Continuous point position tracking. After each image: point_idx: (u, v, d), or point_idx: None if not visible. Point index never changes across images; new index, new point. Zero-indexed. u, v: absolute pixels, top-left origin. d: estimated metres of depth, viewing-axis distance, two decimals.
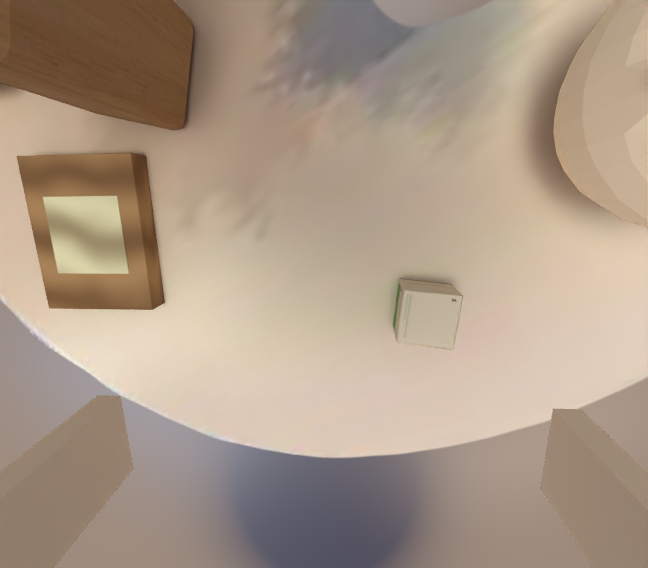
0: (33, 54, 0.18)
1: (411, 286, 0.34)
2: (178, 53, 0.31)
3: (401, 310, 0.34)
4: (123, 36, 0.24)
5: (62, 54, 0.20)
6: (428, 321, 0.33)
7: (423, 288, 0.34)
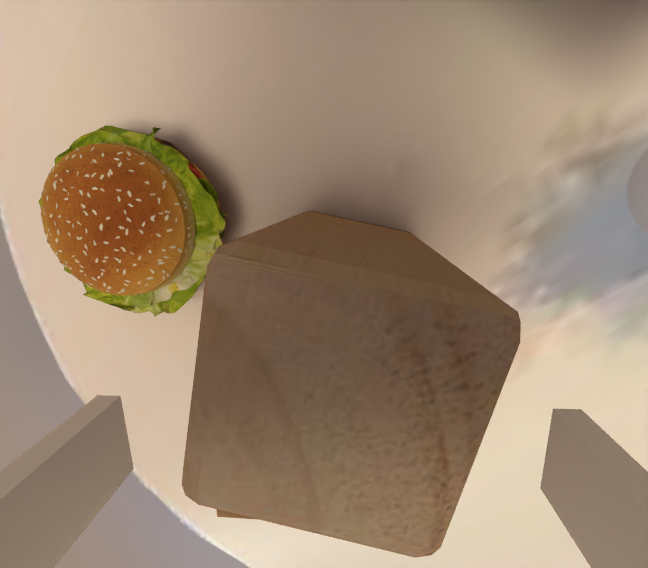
0: None
1: None
2: None
3: None
4: None
5: None
6: None
7: None
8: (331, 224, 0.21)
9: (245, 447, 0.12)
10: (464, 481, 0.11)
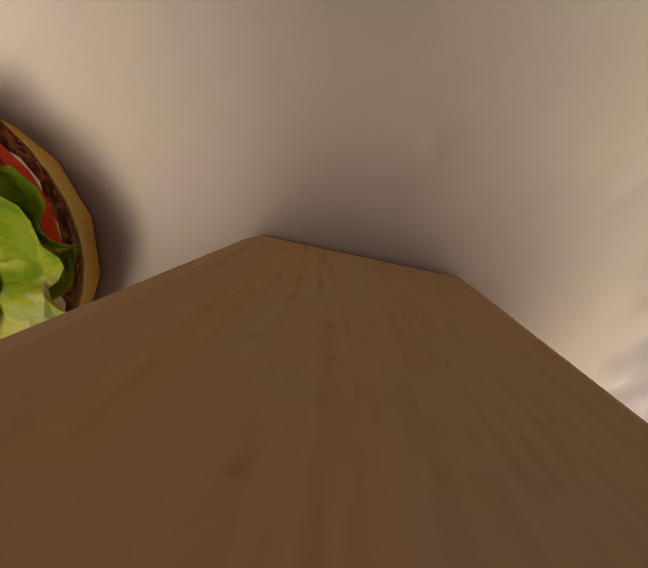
0: None
1: None
2: None
3: None
4: None
5: None
6: None
7: None
8: (278, 292, 0.07)
9: None
10: None
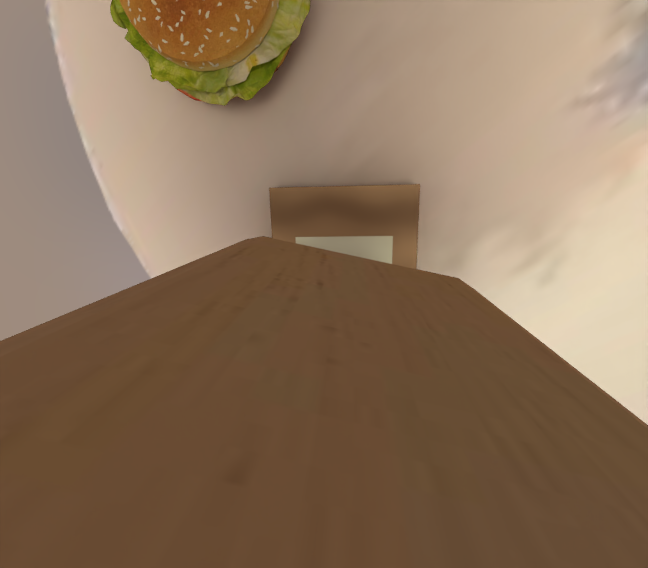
0: None
1: None
2: None
3: None
4: None
5: None
6: None
7: None
8: (278, 293, 0.07)
9: None
10: None
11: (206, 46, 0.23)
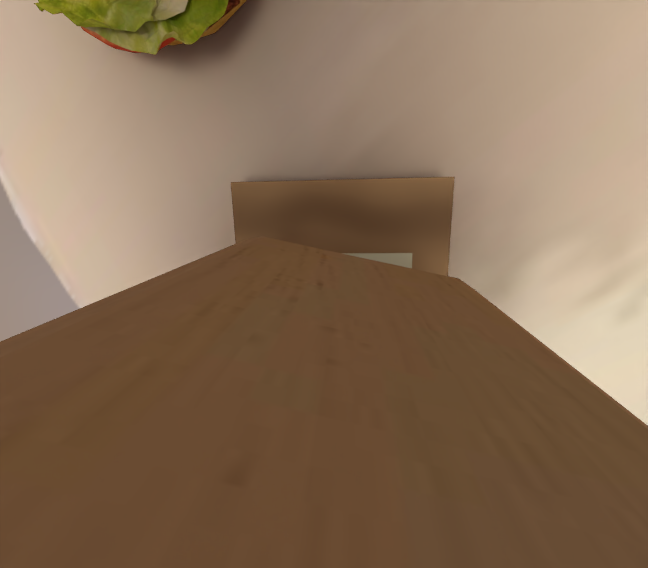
0: None
1: None
2: None
3: None
4: None
5: None
6: None
7: None
8: (278, 294, 0.07)
9: None
10: None
11: None
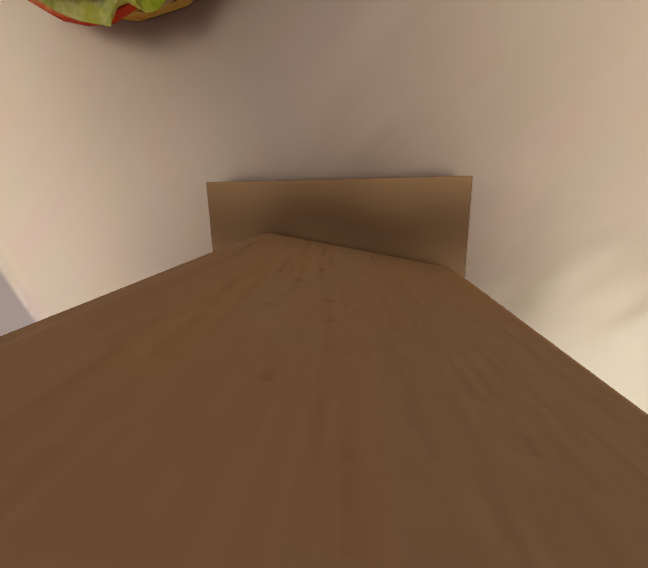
0: None
1: None
2: None
3: None
4: None
5: None
6: None
7: None
8: (286, 276, 0.09)
9: None
10: None
11: None
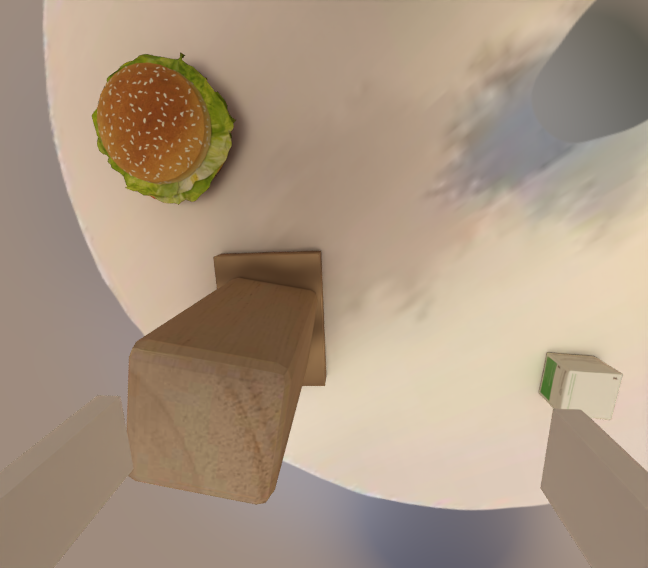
0: (278, 474, 0.24)
1: (570, 364, 0.39)
2: (311, 331, 0.37)
3: (565, 387, 0.38)
4: (299, 379, 0.30)
5: (284, 448, 0.26)
6: (590, 396, 0.38)
7: (582, 366, 0.38)
8: (238, 297, 0.32)
9: (156, 446, 0.22)
10: (272, 459, 0.22)
11: (161, 174, 0.34)
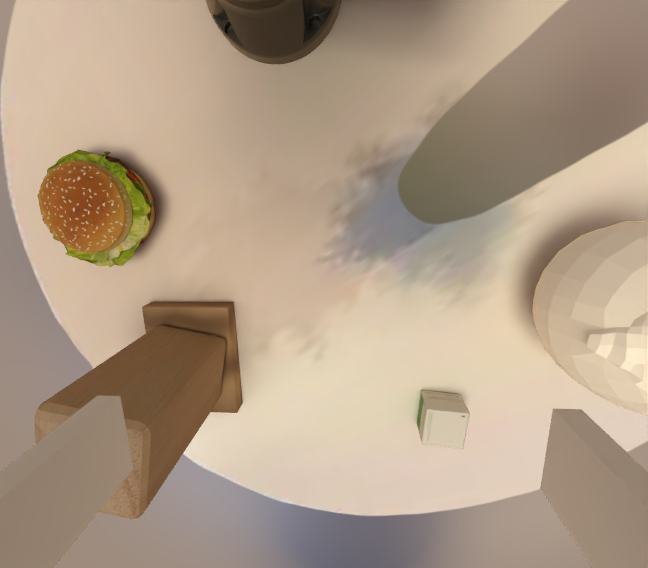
0: None
1: (431, 403, 0.47)
2: (217, 372, 0.46)
3: (425, 422, 0.46)
4: (190, 418, 0.39)
5: (164, 475, 0.35)
6: (444, 430, 0.46)
7: (440, 405, 0.47)
8: (147, 350, 0.40)
9: None
10: (139, 488, 0.30)
11: (90, 247, 0.42)
